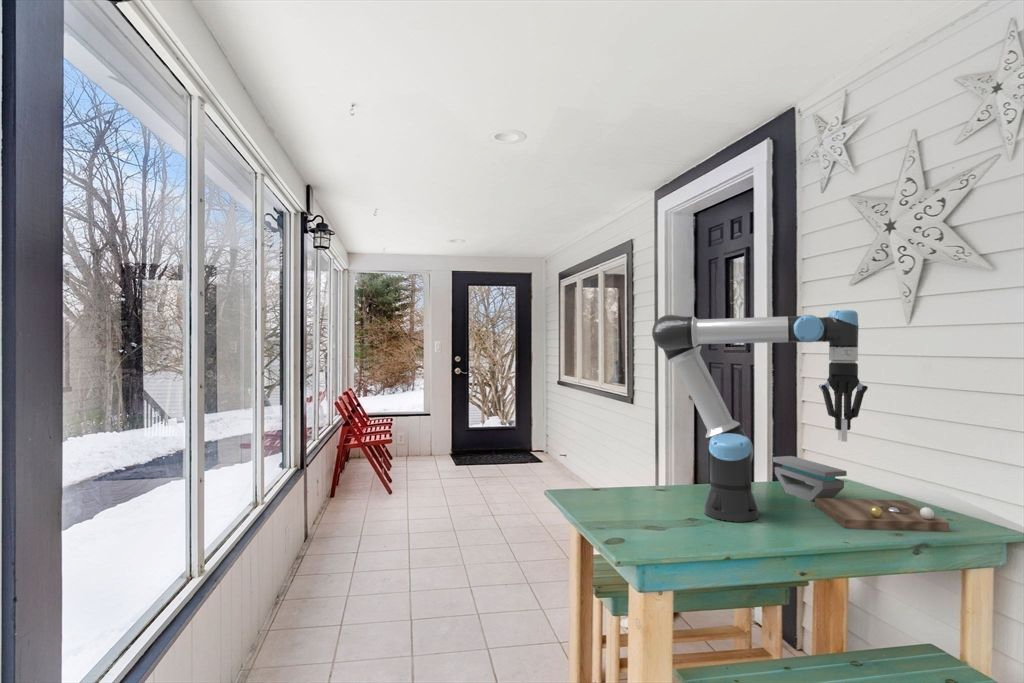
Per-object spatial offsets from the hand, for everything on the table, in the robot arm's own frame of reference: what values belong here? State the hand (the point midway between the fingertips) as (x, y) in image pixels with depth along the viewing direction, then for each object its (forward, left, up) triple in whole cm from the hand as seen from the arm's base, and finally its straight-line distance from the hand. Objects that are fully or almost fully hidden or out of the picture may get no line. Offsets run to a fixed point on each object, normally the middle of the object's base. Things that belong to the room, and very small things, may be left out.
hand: (842, 440), depth 172 cm
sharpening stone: (-3, +20, -22) cm, 30 cm away
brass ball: (+4, -12, -18) cm, 22 cm away
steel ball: (+12, -3, -20) cm, 24 cm away
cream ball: (+17, -12, -18) cm, 27 cm away
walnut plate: (+8, -3, -22) cm, 23 cm away
